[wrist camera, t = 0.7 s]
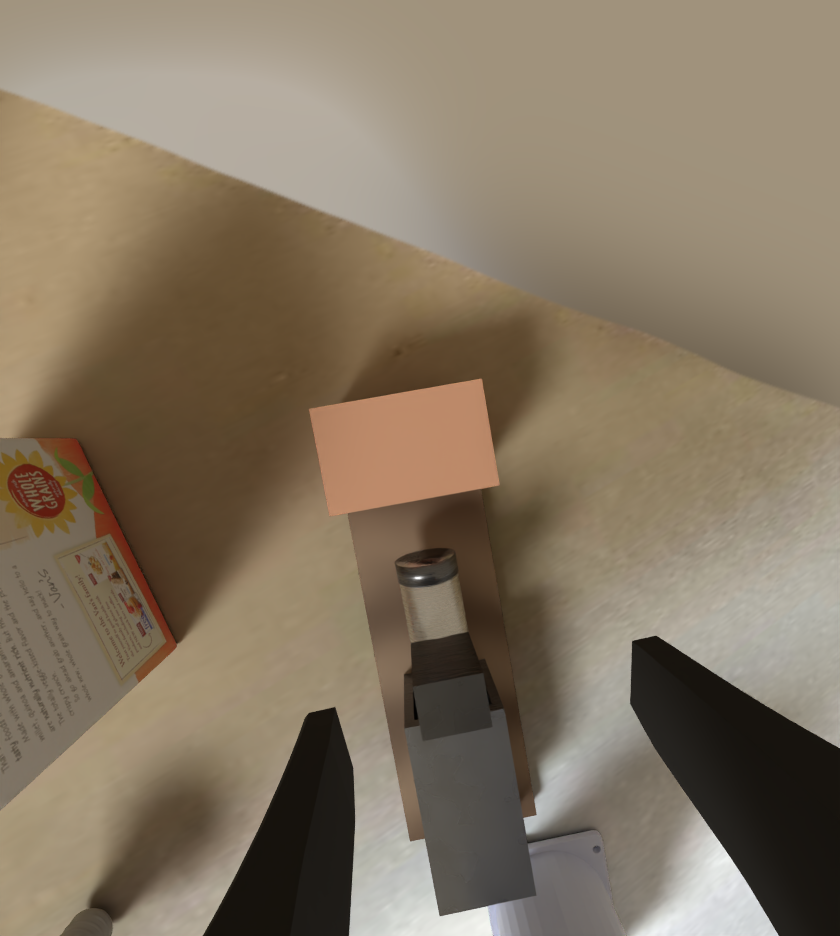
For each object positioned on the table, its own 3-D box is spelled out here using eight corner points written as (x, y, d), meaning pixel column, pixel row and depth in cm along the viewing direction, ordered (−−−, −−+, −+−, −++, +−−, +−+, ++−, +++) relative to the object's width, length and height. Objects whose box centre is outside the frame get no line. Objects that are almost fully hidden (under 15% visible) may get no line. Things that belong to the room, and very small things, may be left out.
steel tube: (497, 804, 26) (533, 939, 19) (443, 815, 26) (458, 955, 19) (451, 544, 25) (471, 584, 18) (395, 554, 25) (392, 599, 18)
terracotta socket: (478, 476, 26) (499, 485, 20) (345, 500, 26) (329, 516, 20) (464, 392, 26) (481, 378, 20) (328, 416, 25) (308, 408, 20)
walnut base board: (531, 801, 28) (536, 814, 27) (409, 827, 28) (410, 841, 27) (462, 394, 27) (464, 392, 26) (331, 417, 26) (328, 416, 25)
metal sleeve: (511, 812, 27) (536, 895, 22) (432, 828, 27) (439, 916, 22) (484, 658, 26) (504, 708, 22) (403, 674, 26) (404, 728, 21)
